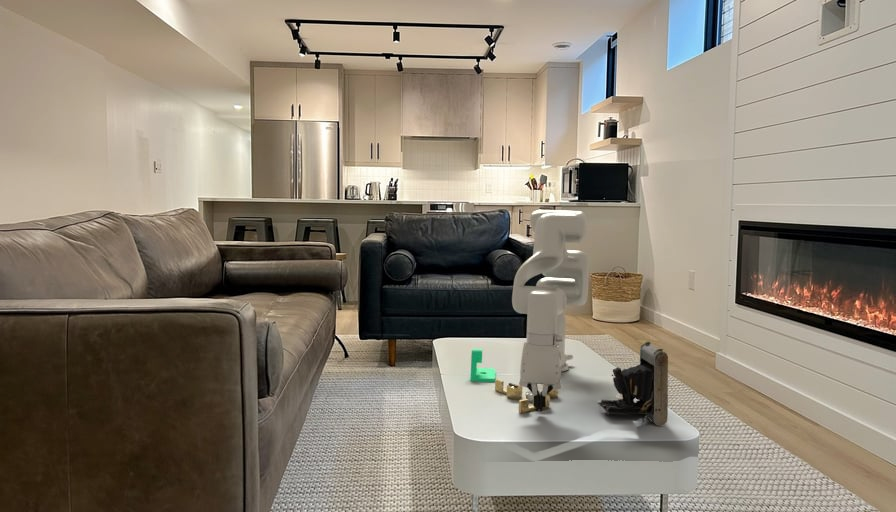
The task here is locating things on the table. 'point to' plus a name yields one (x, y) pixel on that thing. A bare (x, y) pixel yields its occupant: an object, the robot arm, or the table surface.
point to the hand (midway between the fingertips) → (539, 409)
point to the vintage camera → (642, 387)
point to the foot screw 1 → (509, 389)
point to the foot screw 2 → (525, 406)
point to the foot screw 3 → (552, 393)
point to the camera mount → (480, 373)
